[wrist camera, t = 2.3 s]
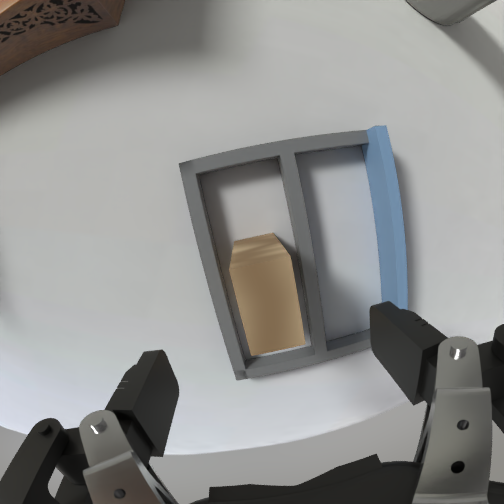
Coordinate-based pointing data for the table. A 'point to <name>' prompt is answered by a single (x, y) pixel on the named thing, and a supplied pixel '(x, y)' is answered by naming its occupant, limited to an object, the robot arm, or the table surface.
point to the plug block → (266, 294)
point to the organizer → (305, 241)
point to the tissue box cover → (49, 25)
